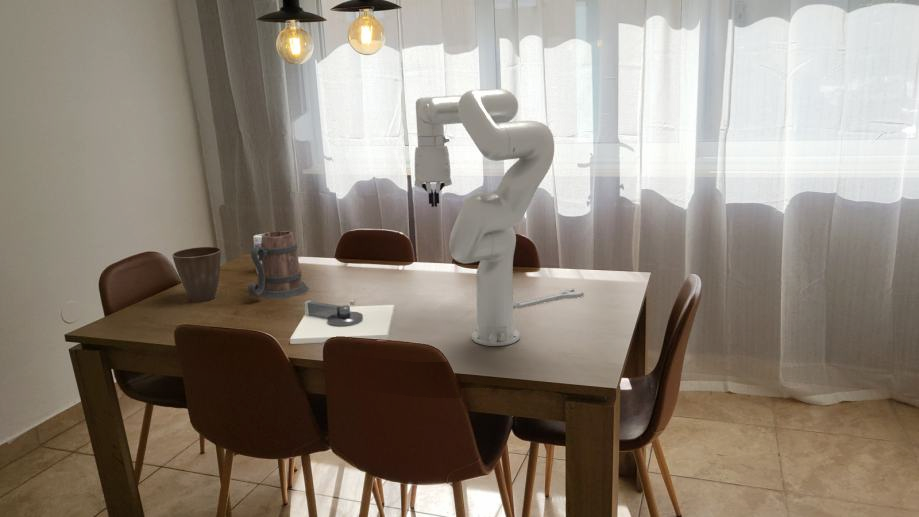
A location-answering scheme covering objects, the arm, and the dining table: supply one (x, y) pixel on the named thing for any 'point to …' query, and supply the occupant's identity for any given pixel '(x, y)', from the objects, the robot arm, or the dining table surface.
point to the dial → (333, 313)
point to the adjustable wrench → (549, 298)
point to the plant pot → (199, 271)
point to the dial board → (370, 327)
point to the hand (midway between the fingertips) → (434, 206)
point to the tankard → (277, 267)
